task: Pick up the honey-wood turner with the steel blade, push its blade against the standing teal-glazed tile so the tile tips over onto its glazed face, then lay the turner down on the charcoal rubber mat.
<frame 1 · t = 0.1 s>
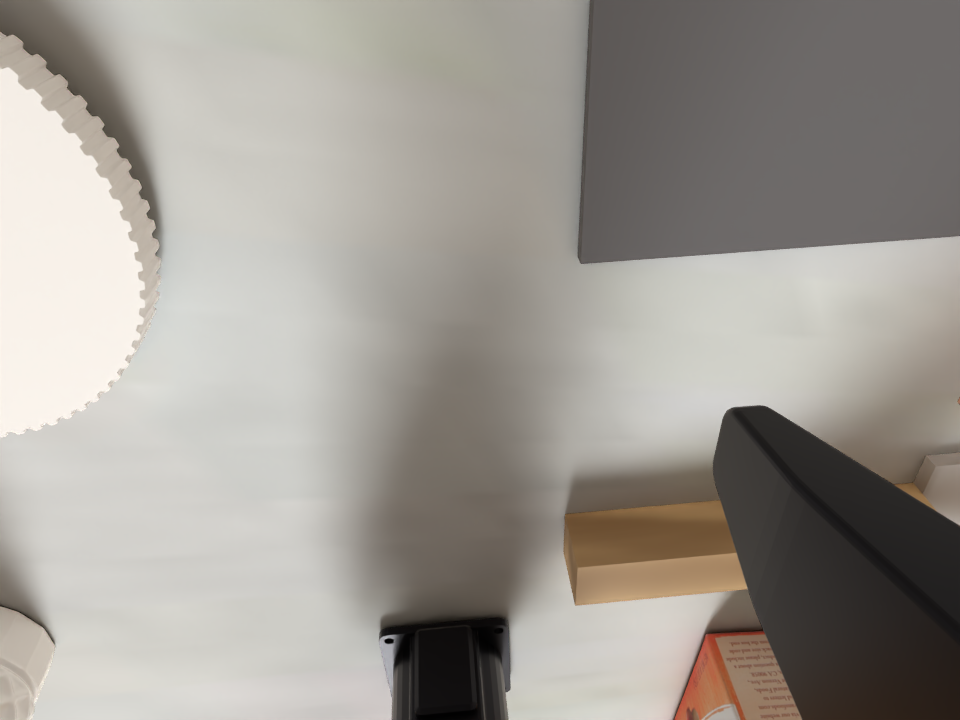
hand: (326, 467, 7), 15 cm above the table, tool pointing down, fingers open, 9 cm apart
cracker box: (719, 691, 41), on the table
turner: (777, 512, 31), on the table
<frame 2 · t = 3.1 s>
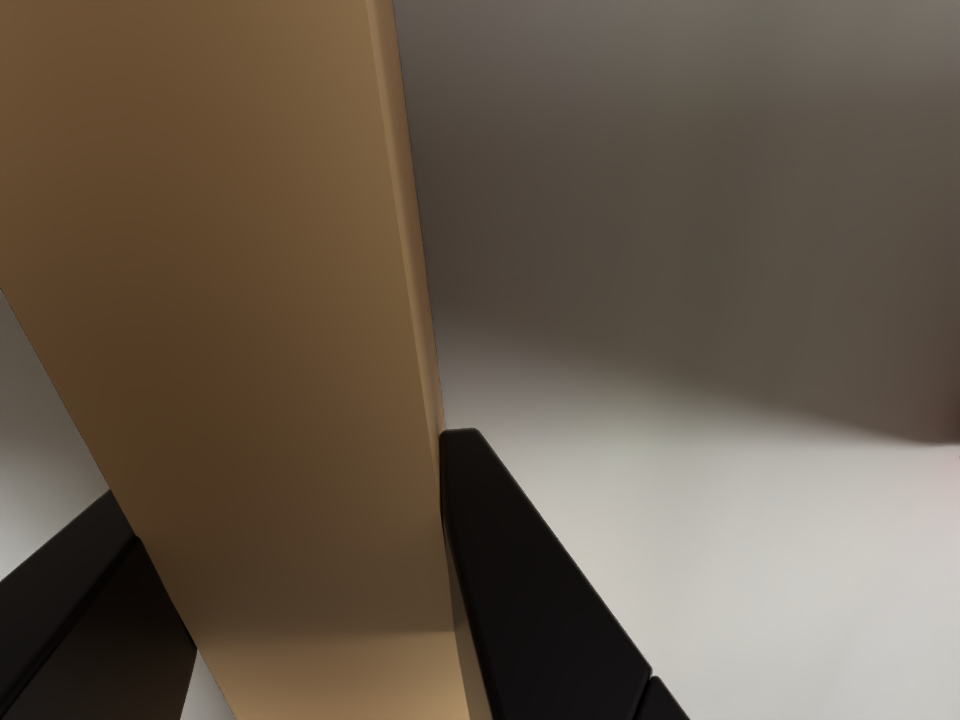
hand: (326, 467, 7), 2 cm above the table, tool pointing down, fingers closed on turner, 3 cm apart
turner: (340, 390, 9), on the table, touching gripper
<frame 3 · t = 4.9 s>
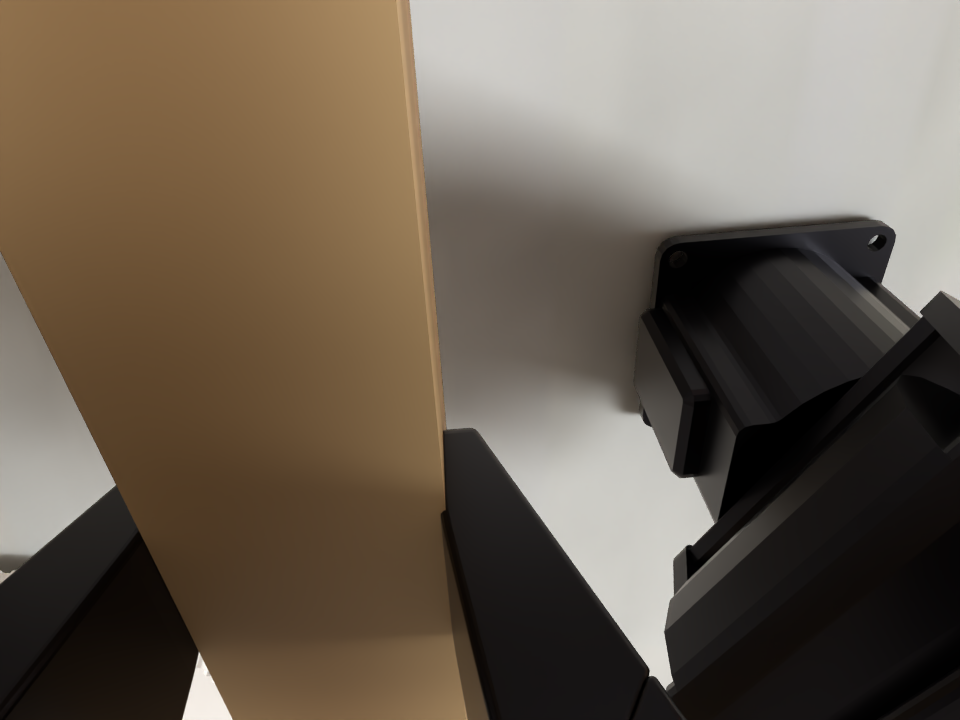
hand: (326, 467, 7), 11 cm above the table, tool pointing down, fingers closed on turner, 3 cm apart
plastic lid: (76, 652, 28), on the table
turner: (343, 393, 9), point 10 cm above the table, touching gripper
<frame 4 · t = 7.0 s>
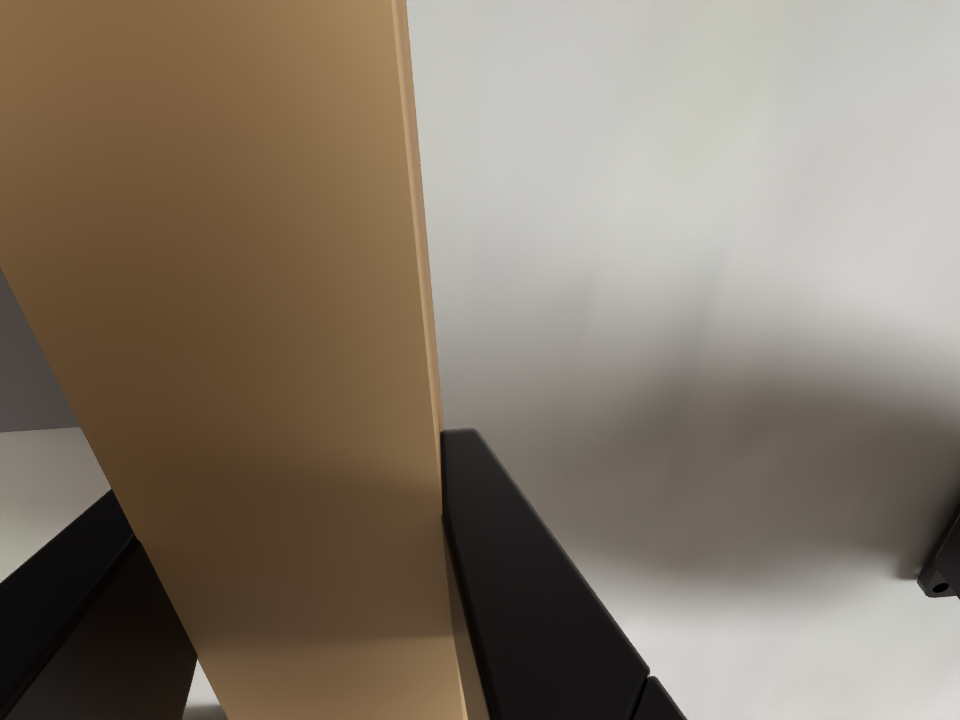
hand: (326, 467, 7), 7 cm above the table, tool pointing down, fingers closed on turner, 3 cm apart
turner: (340, 393, 9), point 6 cm above the table, touching gripper
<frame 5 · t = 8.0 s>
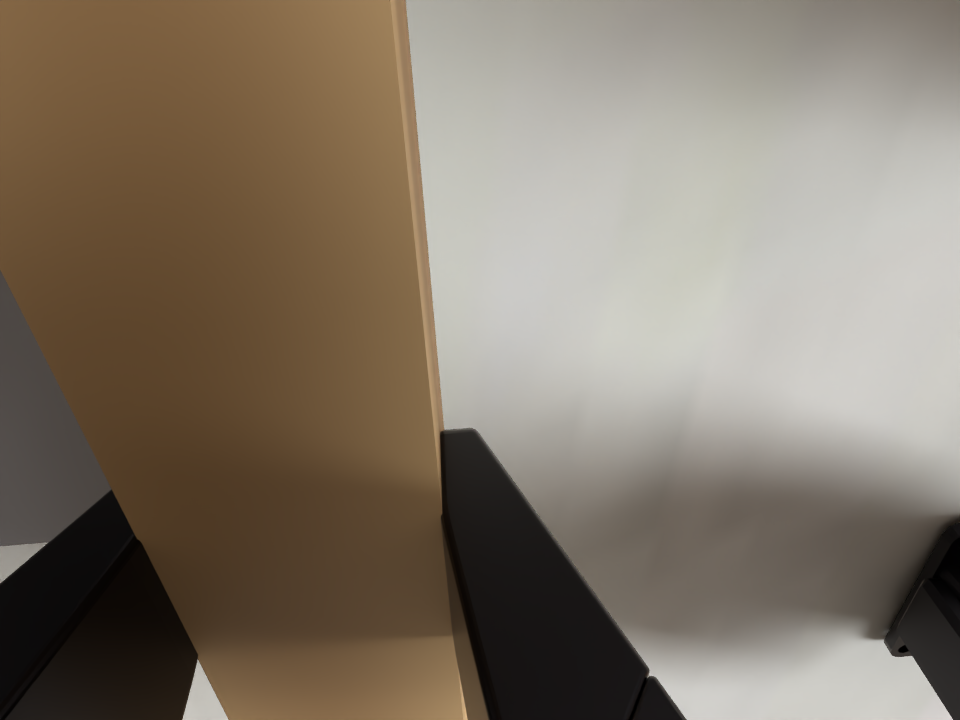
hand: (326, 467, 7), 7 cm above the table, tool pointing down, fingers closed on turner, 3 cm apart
turner: (339, 392, 9), point 5 cm above the table, touching gripper
when the fingers open (3 cm above the table, at t = 10.9 s): turner stays where it is, resting on mat.
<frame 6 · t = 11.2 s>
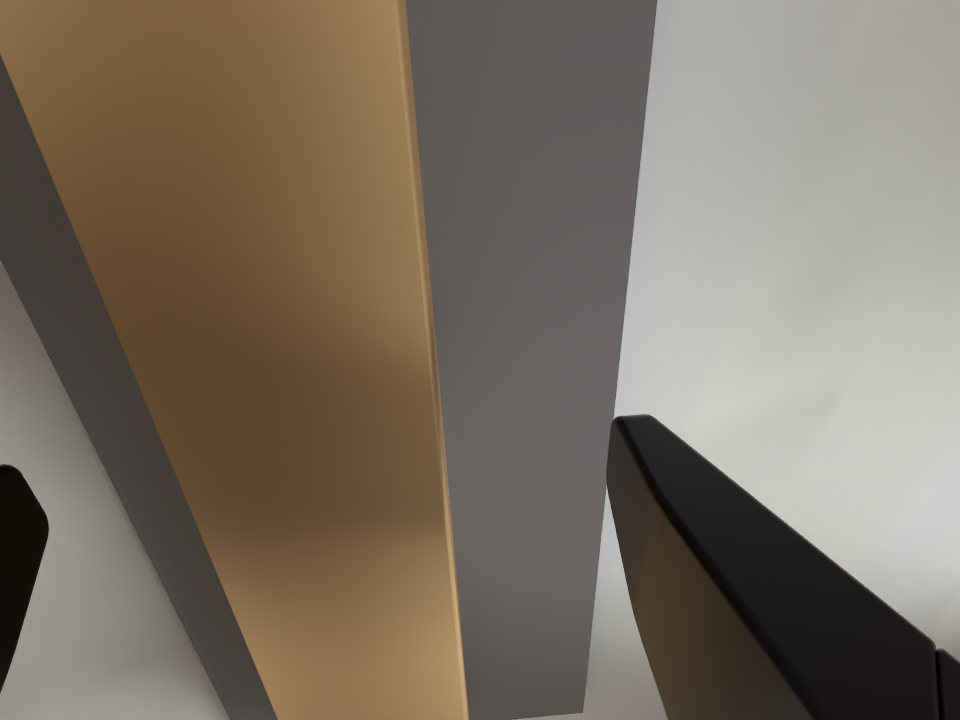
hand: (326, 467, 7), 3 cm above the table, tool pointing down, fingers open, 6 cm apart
turner: (344, 348, 10), resting on mat
mat: (335, 262, 9), on the table
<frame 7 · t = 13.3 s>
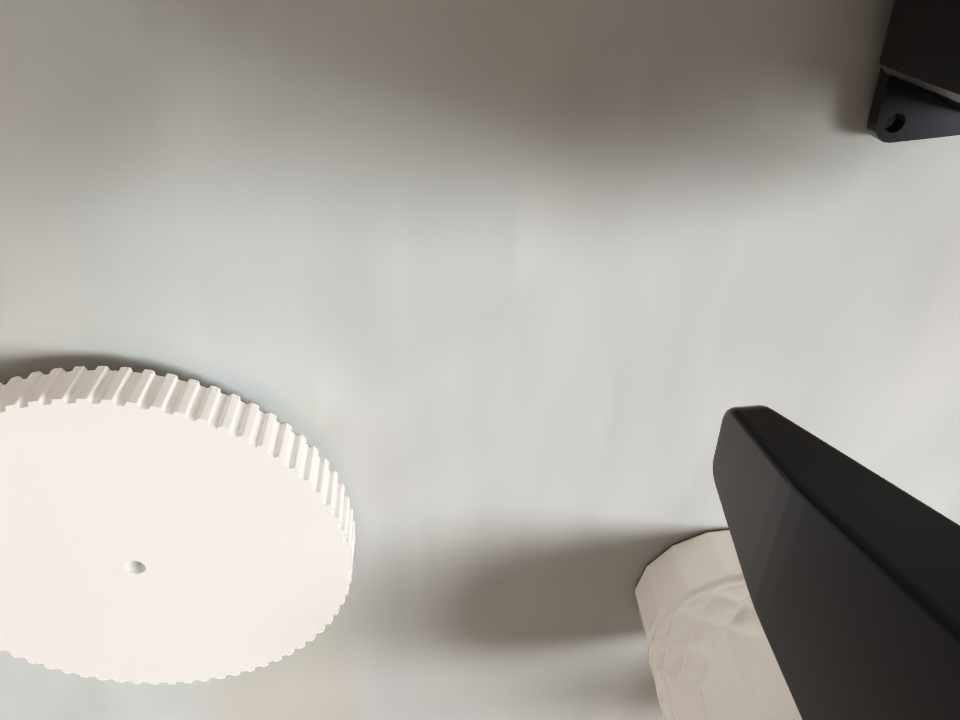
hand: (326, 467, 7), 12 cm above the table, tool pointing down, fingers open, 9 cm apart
white cup: (709, 575, 29), on the table
plastic lid: (159, 504, 24), on the table
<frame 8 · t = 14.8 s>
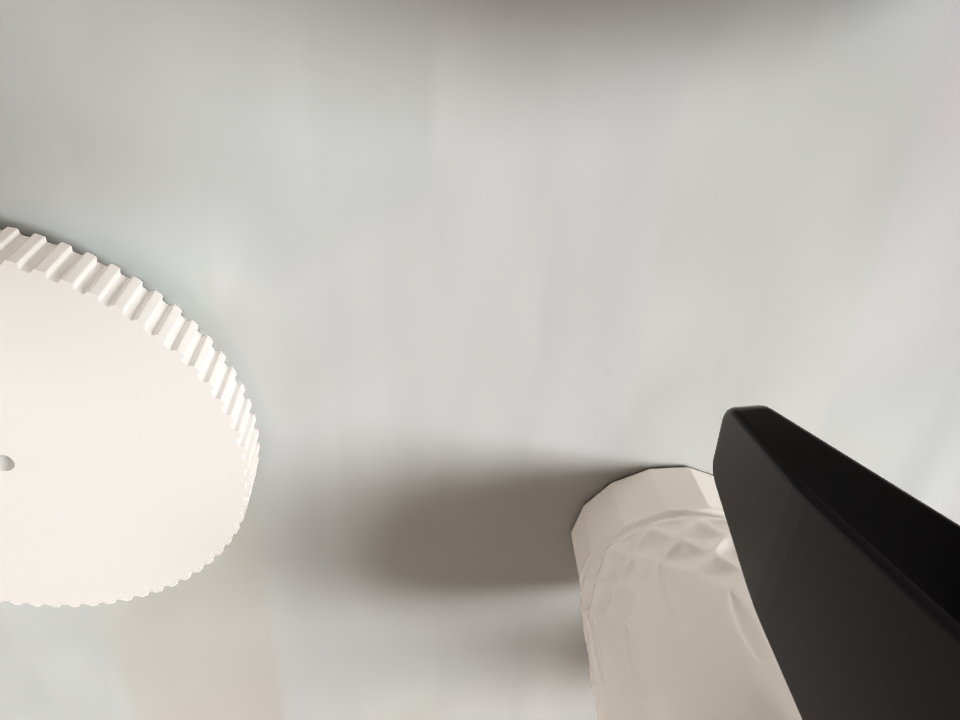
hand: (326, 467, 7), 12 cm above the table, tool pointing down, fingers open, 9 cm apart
white cup: (652, 521, 27), on the table
plastic lid: (44, 403, 22), on the table
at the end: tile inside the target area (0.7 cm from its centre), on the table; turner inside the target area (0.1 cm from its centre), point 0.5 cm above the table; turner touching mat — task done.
